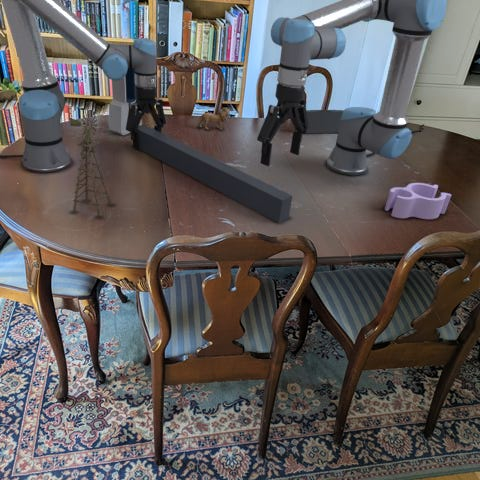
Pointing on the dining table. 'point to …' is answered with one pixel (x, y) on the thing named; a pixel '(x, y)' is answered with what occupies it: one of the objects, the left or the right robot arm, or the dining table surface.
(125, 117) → the electronic device
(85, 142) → the miniature windmill
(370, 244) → the dining table surface
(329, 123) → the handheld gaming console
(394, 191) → the clip
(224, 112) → the lion figurine
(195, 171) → the post
